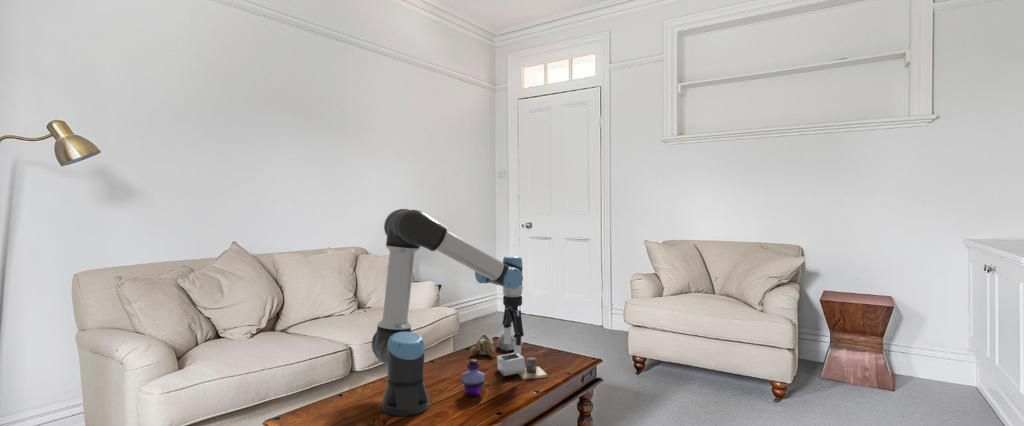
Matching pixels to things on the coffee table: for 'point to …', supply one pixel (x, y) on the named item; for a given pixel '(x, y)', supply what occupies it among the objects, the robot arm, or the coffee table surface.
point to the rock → (506, 346)
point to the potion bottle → (473, 379)
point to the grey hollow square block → (511, 364)
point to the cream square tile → (532, 370)
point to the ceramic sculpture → (483, 346)
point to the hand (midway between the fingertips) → (512, 348)
